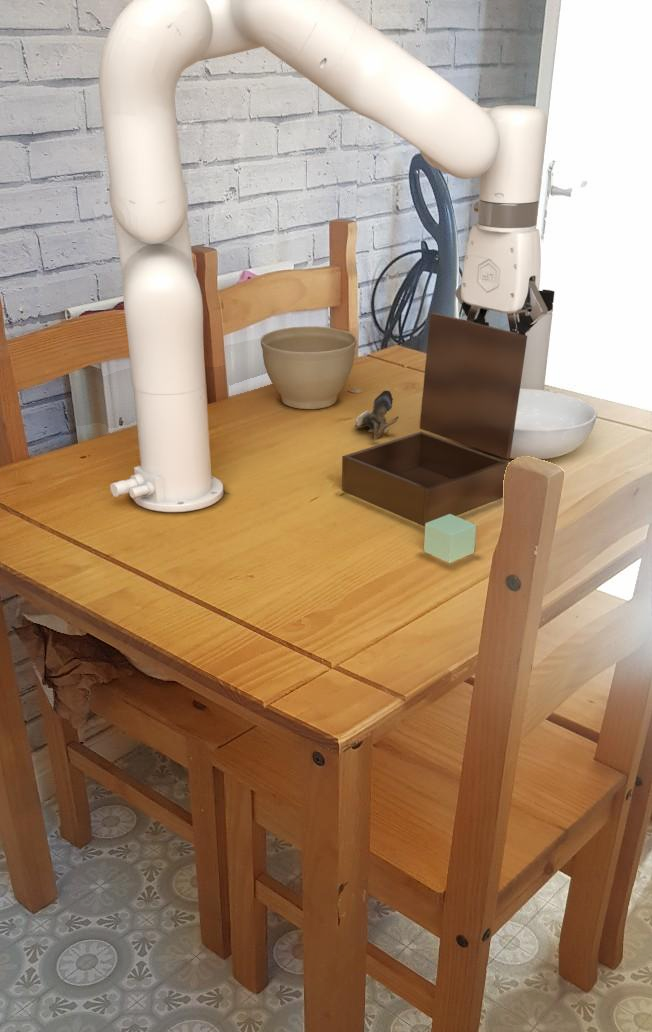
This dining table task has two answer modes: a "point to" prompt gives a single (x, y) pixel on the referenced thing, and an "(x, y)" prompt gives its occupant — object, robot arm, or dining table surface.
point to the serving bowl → (550, 424)
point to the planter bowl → (308, 364)
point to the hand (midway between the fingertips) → (495, 357)
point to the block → (449, 538)
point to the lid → (472, 383)
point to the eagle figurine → (378, 415)
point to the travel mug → (537, 347)
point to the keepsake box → (423, 477)
